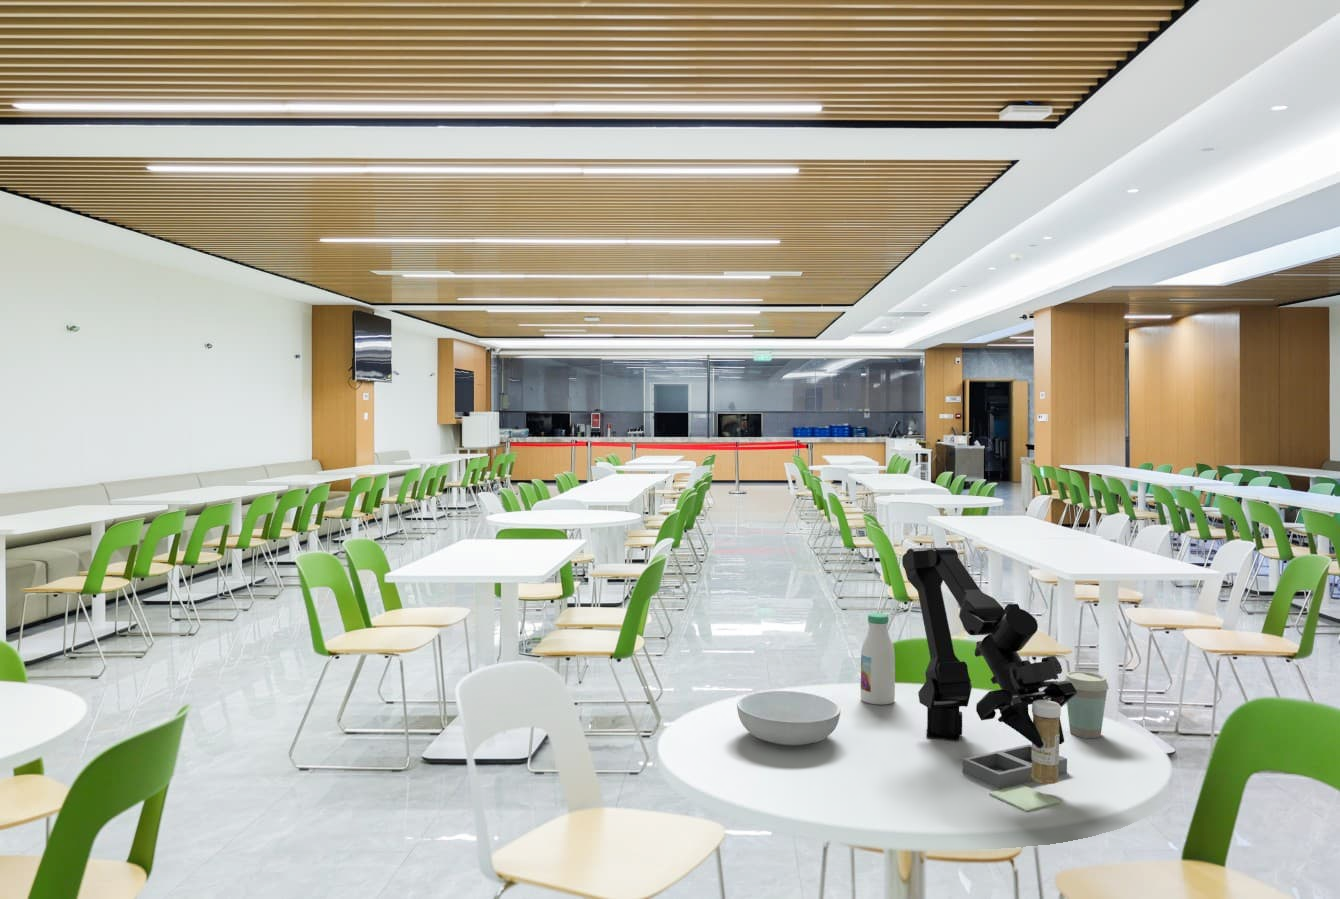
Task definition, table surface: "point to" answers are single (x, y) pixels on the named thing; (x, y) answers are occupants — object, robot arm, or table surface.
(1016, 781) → the tray
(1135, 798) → the table surface
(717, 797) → the table surface
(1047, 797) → the pad
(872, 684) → the milk bottle
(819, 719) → the serving bowl
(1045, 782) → the sprinkles bottle
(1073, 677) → the coffee cup
